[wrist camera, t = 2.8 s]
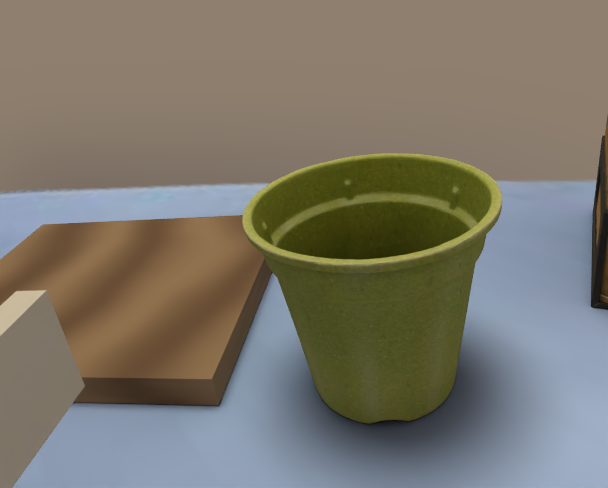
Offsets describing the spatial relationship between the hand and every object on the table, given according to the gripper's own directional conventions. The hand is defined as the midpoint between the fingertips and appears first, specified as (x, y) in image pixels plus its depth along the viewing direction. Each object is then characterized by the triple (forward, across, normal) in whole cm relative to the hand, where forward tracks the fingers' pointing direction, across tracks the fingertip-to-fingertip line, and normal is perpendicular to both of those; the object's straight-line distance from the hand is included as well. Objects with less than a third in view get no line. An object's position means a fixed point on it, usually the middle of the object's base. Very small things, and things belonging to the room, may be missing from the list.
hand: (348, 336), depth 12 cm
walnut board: (+16, -16, -10) cm, 25 cm away
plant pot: (+10, 0, -10) cm, 15 cm away
